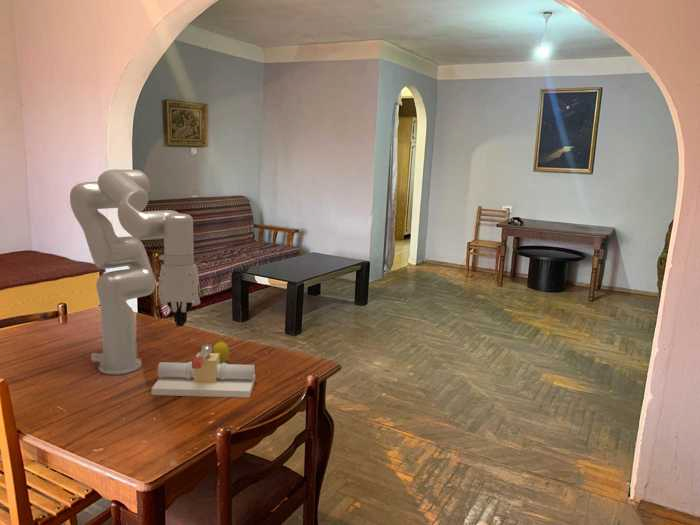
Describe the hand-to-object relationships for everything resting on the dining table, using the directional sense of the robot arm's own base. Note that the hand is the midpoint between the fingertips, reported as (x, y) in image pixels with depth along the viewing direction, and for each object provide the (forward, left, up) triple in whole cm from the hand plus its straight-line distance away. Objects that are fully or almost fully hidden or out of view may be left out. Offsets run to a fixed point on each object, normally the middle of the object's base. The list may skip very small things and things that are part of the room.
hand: (180, 324), depth 148 cm
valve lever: (+5, +4, -12) cm, 13 cm away
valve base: (+5, +8, -22) cm, 24 cm away
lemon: (+6, +26, -23) cm, 35 cm away
